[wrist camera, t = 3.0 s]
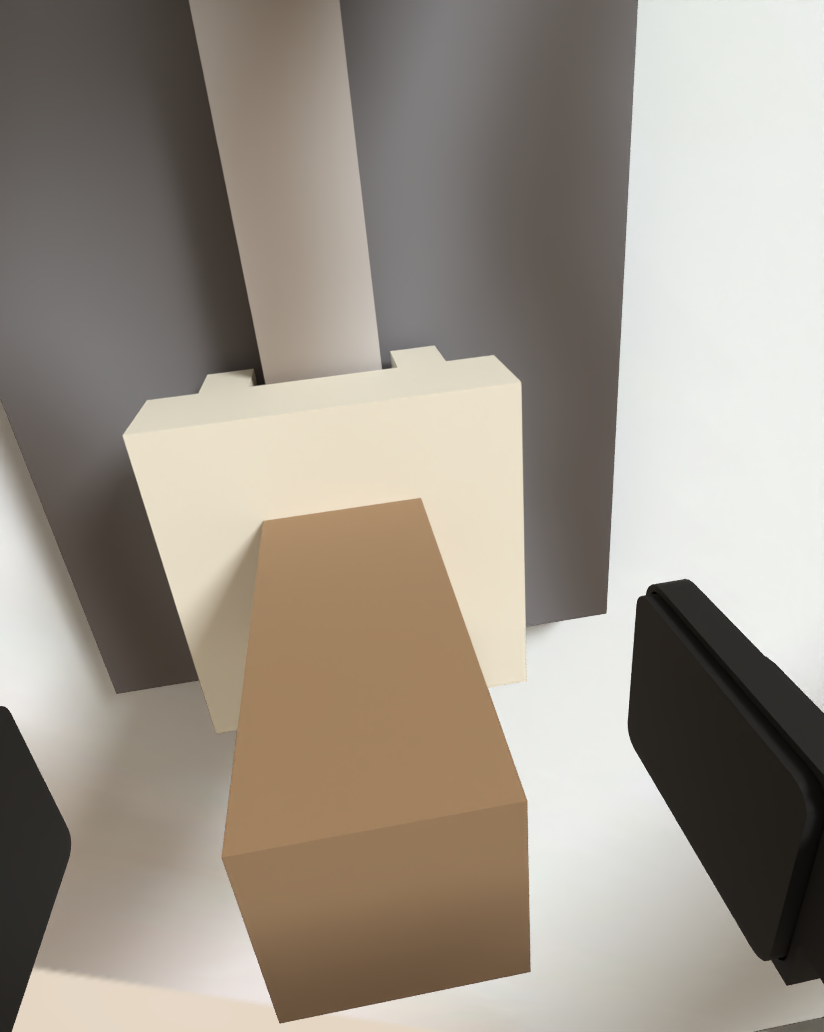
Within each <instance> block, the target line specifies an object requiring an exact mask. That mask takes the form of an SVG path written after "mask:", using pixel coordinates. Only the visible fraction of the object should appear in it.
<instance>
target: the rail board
mask: <svg viewBox="0 0 824 1032" xmlns="http://www.w3.org/2000/svg"><path fill="white" fill-rule="evenodd" d="M637 8H638V0H0V399H1V401H2V404H3V406H4V409H5V411H6V414H7V417H8V419H9V422H10V424H11V427H12V429H13V432H14V434H15V437H16V439H17V442H18V444H19V447H20V450H21V452H22V455H23V457H24V460H25V462H26V465H27V467H28V470H29V472H30V475H31V478H32V480H33V483H34V485H35V488H36V490H37V493H38V495H39V498H40V500H41V503H42V505H43V508H44V511H45V513H46V516H47V518H48V521H49V523H50V526H51V528H52V531H53V533H54V536H55V539H56V541H57V544H58V546H59V549H60V551H61V554H62V556H63V559H64V561H65V564H66V566H67V569H68V572H69V574H70V577H71V579H72V582H73V584H74V587H75V589H76V592H77V594H78V597H79V600H80V602H81V605H82V607H83V610H84V612H85V615H86V617H87V620H88V622H89V625H90V627H91V630H92V633H93V635H94V638H95V640H96V643H97V645H98V648H99V650H100V653H101V655H102V658H103V661H104V663H105V666H106V668H107V671H108V673H109V676H110V678H111V681H112V683H113V686H114V688H115V691H116V694H118V693H125V692H131V691H137V690H143V689H149V688H155V687H161V686H167V685H173V684H179V683H186V682H192V681H198V680H199V678H198V674H197V671H196V668H195V665H194V662H193V659H192V655H191V652H190V649H189V646H188V643H187V639H186V636H185V633H184V630H183V627H182V623H181V620H180V617H179V614H178V611H177V608H176V604H175V601H174V598H173V595H172V592H171V588H170V585H169V582H168V579H167V576H166V573H165V569H164V566H163V563H162V560H161V557H160V553H159V550H158V547H157V544H156V541H155V537H154V534H153V531H152V528H151V525H150V522H149V518H148V515H147V512H146V509H145V506H144V502H143V499H142V496H141V493H140V490H139V486H138V483H137V480H136V477H135V474H134V471H133V467H132V464H131V461H130V458H129V455H128V451H127V448H126V445H125V442H124V439H123V434H124V433H125V431H126V430H127V428H128V427H129V425H130V424H131V423H132V421H133V420H134V418H135V417H136V415H137V414H138V412H139V411H140V410H141V408H142V407H143V405H144V404H145V402H146V401H147V400H153V399H160V398H168V397H176V396H183V395H191V394H198V393H199V391H200V389H201V387H202V385H203V383H204V381H205V379H206V377H207V375H209V374H216V373H224V372H232V371H240V370H247V369H254V372H255V377H256V382H257V386H260V385H268V384H275V383H283V382H291V381H298V380H306V379H314V378H321V377H329V376H337V375H344V374H352V373H360V372H367V371H375V370H383V369H390V368H392V364H391V355H390V351H396V350H403V349H411V348H419V347H427V346H434V345H435V347H436V348H437V350H438V351H439V352H440V354H441V355H442V356H443V358H444V359H445V360H446V361H452V360H459V359H467V358H475V357H482V356H490V355H494V356H495V357H496V358H497V359H498V360H499V361H500V362H502V363H503V364H504V365H505V366H506V367H507V368H508V369H509V370H510V371H511V372H512V373H513V374H514V375H515V376H516V377H517V378H518V379H519V380H520V381H521V392H522V449H523V506H524V563H525V619H526V627H527V626H533V625H539V624H545V623H551V622H557V621H564V620H570V619H576V618H582V617H588V616H594V615H600V614H606V611H607V591H608V572H609V552H610V533H611V513H612V494H613V475H614V455H615V436H616V416H617V397H618V377H619V358H620V338H621V319H622V300H623V280H624V261H625V241H626V222H627V202H628V183H629V164H630V144H631V125H632V105H633V86H634V66H635V47H636V28H637Z"/></svg>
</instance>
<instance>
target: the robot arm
mask: <svg viewBox="0 0 824 1032" xmlns="http://www.w3.org/2000/svg"><path fill="white" fill-rule="evenodd" d="M628 732H629V736H630V740H631V743H632V745H633V747H634V749H635V751H636V753H637V754H638V756H639V758H640V759H641V761H642V763H643V765H644V766H645V768H646V770H647V771H648V773H649V775H650V776H651V778H652V780H653V781H654V783H655V785H656V787H657V788H658V790H659V792H660V793H661V795H662V797H663V798H664V800H665V802H666V804H667V805H668V807H669V809H670V810H671V812H672V814H673V815H674V817H675V819H676V821H677V822H678V824H679V826H680V827H681V829H682V831H683V832H684V834H685V836H686V838H687V839H688V841H689V843H690V844H691V846H692V848H693V849H694V851H695V853H696V855H697V856H698V858H699V860H700V861H701V863H702V865H703V866H704V868H705V870H706V872H707V873H708V875H709V877H710V878H711V880H712V882H713V883H714V885H715V887H716V888H717V890H718V892H719V894H720V895H721V897H722V899H723V900H724V902H725V904H726V905H727V907H728V909H729V911H730V912H731V914H732V916H733V917H734V919H735V921H736V922H737V924H738V926H739V928H740V929H741V931H742V933H743V934H744V936H745V938H746V939H747V941H748V943H749V945H750V946H751V948H752V949H753V951H754V952H755V954H756V955H757V956H758V957H759V958H760V959H762V960H763V961H769V960H772V962H773V964H774V965H775V967H776V969H777V970H778V972H779V974H780V975H781V977H782V979H783V980H784V982H785V984H786V985H787V986H788V985H793V984H797V983H801V982H806V981H810V980H814V979H818V978H820V979H821V980H822V982H823V984H824V713H823V712H822V711H821V710H820V709H819V708H818V707H817V706H816V705H815V704H814V703H813V702H812V701H811V700H810V699H809V698H808V697H807V696H806V695H805V694H804V693H803V692H802V691H801V690H800V689H799V688H798V686H797V685H796V684H795V683H794V682H793V681H792V680H791V679H790V678H789V677H788V676H787V675H786V674H785V673H784V672H783V671H782V670H781V669H780V668H779V667H778V666H777V665H776V664H775V663H774V662H772V661H771V660H770V659H769V658H767V657H765V656H764V655H763V654H762V653H761V652H760V651H759V650H758V649H757V648H756V647H755V646H754V645H753V644H752V643H751V641H750V640H749V639H748V638H747V637H746V636H745V635H744V634H743V633H742V632H741V631H740V630H739V629H738V628H737V627H736V626H735V625H734V624H733V623H732V622H731V621H730V620H729V619H728V618H727V617H726V616H725V615H724V614H723V613H722V612H721V611H720V610H719V609H718V608H717V607H716V606H715V604H714V603H713V602H712V601H711V600H710V599H709V598H708V597H707V596H706V595H705V594H704V593H703V592H702V591H701V590H700V589H699V588H698V587H697V586H696V585H695V584H694V583H693V582H691V581H690V580H687V579H683V580H677V581H671V582H665V583H659V584H653V585H651V586H649V588H648V589H647V592H646V595H645V596H641V597H639V598H638V600H637V605H636V619H635V632H634V646H633V659H632V673H631V686H630V699H629V713H628ZM70 851H71V838H70V833H69V830H68V827H67V825H66V823H65V821H64V819H63V817H62V815H61V813H60V811H59V809H58V807H57V805H56V803H55V801H54V799H53V797H52V795H51V793H50V791H49V789H48V787H47V785H46V783H45V781H44V779H43V777H42V775H41V773H40V771H39V769H38V767H37V765H36V763H35V761H34V759H33V757H32V755H31V753H30V751H29V749H28V747H27V745H26V743H25V741H24V739H23V737H22V735H21V733H20V731H19V729H18V727H17V725H16V723H15V721H14V719H13V717H12V714H11V713H10V711H9V710H8V709H7V708H6V707H4V706H0V1032H12V1029H13V1026H14V1023H15V1020H16V1017H17V1014H18V1011H19V1008H20V1005H21V1002H22V999H23V996H24V993H25V990H26V987H27V983H28V980H29V978H30V975H31V972H32V969H33V966H34V963H35V960H36V957H37V954H38V951H39V948H40V945H41V942H42V939H43V936H44V933H45V930H46V926H47V923H48V920H49V917H50V914H51V911H52V908H53V905H54V902H55V899H56V896H57V893H58V890H59V887H60V884H61V881H62V878H63V875H64V872H65V869H66V866H67V863H68V860H69V856H70ZM755 1032H824V1017H821V1018H817V1019H812V1020H807V1021H802V1022H798V1023H793V1024H788V1025H783V1026H779V1027H774V1028H769V1029H764V1030H759V1031H755Z"/></svg>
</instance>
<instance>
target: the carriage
mask: <svg viewBox="0 0 824 1032" xmlns="http://www.w3.org/2000/svg"><path fill="white" fill-rule="evenodd" d="M390 355H391V364H392V368H390V369H383V370H375V371H367V372H360V373H352V374H344V375H337V376H329V377H321V378H314V379H306V380H298V381H291V382H283V383H275V384H268V385H260V386H257V382H256V377H255V372H254V369H247V370H240V371H232V372H224V373H216V374H209V375H207V377H206V379H205V381H204V383H203V385H202V387H201V389H200V391H199V393H198V394H191V395H183V396H176V397H168V398H160V399H153V400H147V401H146V402H145V404H144V405H143V407H142V408H141V410H140V411H139V412H138V414H137V415H136V417H135V418H134V420H133V421H132V423H131V424H130V425H129V427H128V428H127V430H126V431H125V433H124V434H123V439H124V442H125V445H126V448H127V451H128V455H129V458H130V461H131V464H132V467H133V471H134V474H135V477H136V480H137V483H138V486H139V490H140V493H141V496H142V499H143V502H144V506H145V509H146V512H147V515H148V518H149V522H150V525H151V528H152V531H153V534H154V537H155V541H156V544H157V547H158V550H159V553H160V557H161V560H162V563H163V566H164V569H165V573H166V576H167V579H168V582H169V585H170V588H171V592H172V595H173V598H174V601H175V604H176V608H177V611H178V614H179V617H180V620H181V623H182V627H183V630H184V633H185V636H186V639H187V643H188V646H189V649H190V652H191V655H192V659H193V662H194V665H195V668H196V671H197V674H198V678H199V681H200V684H201V687H202V690H203V694H204V697H205V700H206V703H207V706H208V710H209V713H210V716H211V719H212V722H213V725H214V729H215V732H216V734H220V733H225V732H231V731H237V736H236V744H235V752H234V761H233V769H232V777H231V785H230V793H229V801H228V809H227V817H226V826H225V834H224V842H223V850H222V860H223V863H224V866H225V869H226V872H227V875H228V877H229V880H230V883H231V886H232V889H233V892H234V895H235V897H236V900H237V903H238V906H239V909H240V912H241V915H242V917H243V920H244V923H245V926H246V929H247V932H248V935H249V937H250V940H251V943H252V946H253V949H254V952H255V955H256V957H257V960H258V963H259V966H260V969H261V972H262V975H263V977H264V980H265V983H266V986H267V989H268V992H269V995H270V998H271V1000H272V1003H273V1006H274V1009H275V1012H276V1015H277V1018H278V1020H279V1023H285V1022H289V1021H294V1020H299V1019H304V1018H309V1017H314V1016H319V1015H323V1014H328V1013H333V1012H338V1011H343V1010H348V1009H352V1008H357V1007H362V1006H367V1005H372V1004H377V1003H382V1002H386V1001H391V1000H396V999H401V998H406V997H411V996H416V995H420V994H425V993H430V992H435V991H440V990H445V989H450V988H454V987H459V986H464V985H469V984H474V983H479V982H483V981H488V980H493V979H498V978H503V977H508V976H513V975H517V974H522V973H527V972H530V920H529V868H528V815H527V799H526V796H525V793H524V790H523V787H522V785H521V782H520V779H519V776H518V773H517V770H516V767H515V765H514V762H513V759H512V756H511V753H510V750H509V747H508V745H507V742H506V739H505V736H504V733H503V730H502V728H501V725H500V722H499V719H498V716H497V713H496V710H495V708H494V705H493V702H492V699H491V696H490V693H489V690H488V688H489V687H495V686H501V685H507V684H513V683H518V682H524V681H527V676H526V619H525V563H524V506H523V449H522V392H521V381H520V380H519V379H518V378H517V377H516V376H515V375H514V374H513V373H512V372H511V371H510V370H509V369H508V368H507V367H506V366H505V365H504V364H503V363H502V362H500V361H499V360H498V359H497V358H496V357H495V356H494V355H490V356H482V357H475V358H467V359H459V360H452V361H446V360H445V359H444V358H443V356H442V355H441V354H440V352H439V351H438V350H437V348H436V347H435V345H434V346H427V347H419V348H411V349H403V350H396V351H390Z"/></svg>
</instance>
